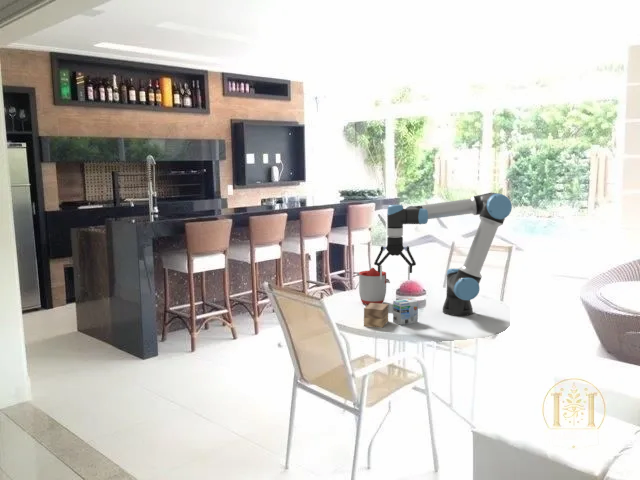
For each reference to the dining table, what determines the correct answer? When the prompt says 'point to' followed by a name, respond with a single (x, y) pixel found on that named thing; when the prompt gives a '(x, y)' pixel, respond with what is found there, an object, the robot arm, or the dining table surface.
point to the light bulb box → (405, 311)
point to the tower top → (376, 310)
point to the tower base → (375, 322)
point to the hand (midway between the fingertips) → (394, 279)
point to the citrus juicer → (372, 286)
